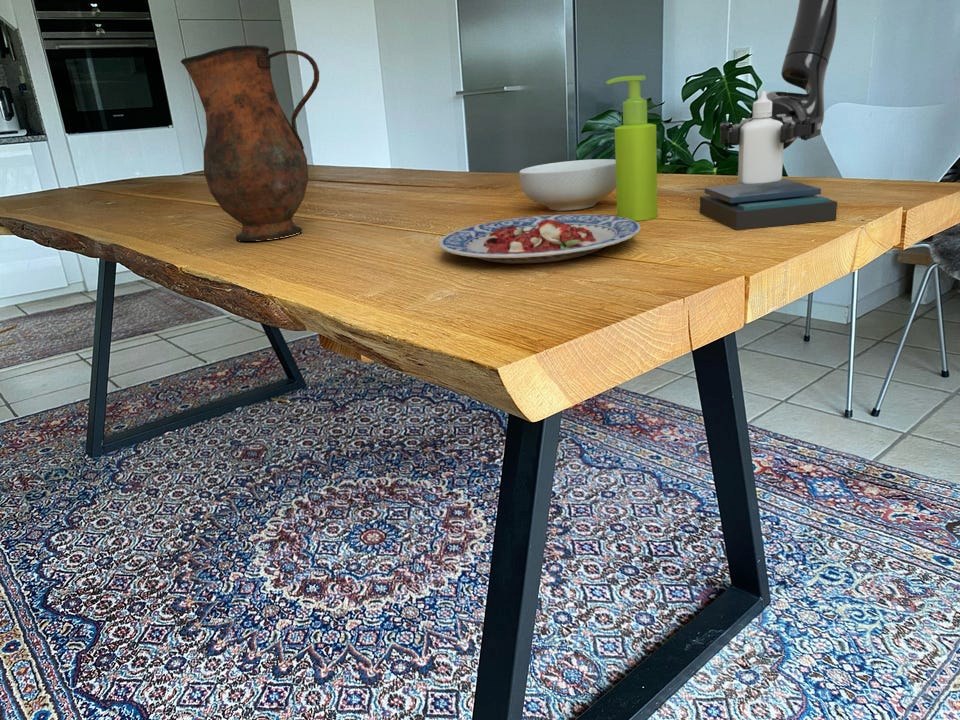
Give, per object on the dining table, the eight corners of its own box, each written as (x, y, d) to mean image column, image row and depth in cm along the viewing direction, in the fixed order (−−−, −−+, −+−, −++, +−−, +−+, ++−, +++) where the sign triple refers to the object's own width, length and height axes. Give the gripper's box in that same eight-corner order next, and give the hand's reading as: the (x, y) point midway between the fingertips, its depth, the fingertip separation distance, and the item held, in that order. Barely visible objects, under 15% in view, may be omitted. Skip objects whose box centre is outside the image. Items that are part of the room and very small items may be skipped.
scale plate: (785, 184, 108) (786, 179, 107) (821, 194, 97) (821, 188, 97) (704, 193, 108) (704, 187, 107) (730, 203, 97) (731, 197, 97)
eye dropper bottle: (741, 180, 105) (743, 91, 101) (783, 179, 103) (787, 88, 98) (735, 185, 102) (738, 93, 97) (779, 184, 99) (783, 90, 95)
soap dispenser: (616, 214, 115) (612, 77, 108) (661, 213, 111) (660, 72, 105) (605, 221, 110) (600, 78, 103) (651, 220, 107) (649, 73, 100)
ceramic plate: (424, 246, 105) (422, 225, 104) (593, 222, 110) (592, 202, 109) (466, 285, 81) (463, 258, 80) (678, 252, 86) (678, 227, 85)
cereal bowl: (610, 195, 134) (608, 155, 131) (632, 208, 118) (631, 163, 116) (517, 205, 133) (514, 165, 131) (527, 219, 118) (524, 174, 115)
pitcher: (231, 233, 134) (193, 56, 124) (348, 221, 135) (320, 44, 125) (206, 251, 118) (161, 50, 108) (339, 237, 119) (307, 36, 109)
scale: (786, 204, 109) (787, 184, 108) (836, 220, 95) (837, 197, 94) (699, 212, 109) (699, 193, 108) (736, 230, 95) (736, 207, 94)
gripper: (826, 147, 109) (815, 162, 96) (726, 151, 116) (702, 167, 103) (830, 93, 107) (819, 102, 93) (727, 101, 114) (703, 110, 100)
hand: (758, 135), depth 98 cm, fingers closed on eye dropper bottle, 5 cm apart
